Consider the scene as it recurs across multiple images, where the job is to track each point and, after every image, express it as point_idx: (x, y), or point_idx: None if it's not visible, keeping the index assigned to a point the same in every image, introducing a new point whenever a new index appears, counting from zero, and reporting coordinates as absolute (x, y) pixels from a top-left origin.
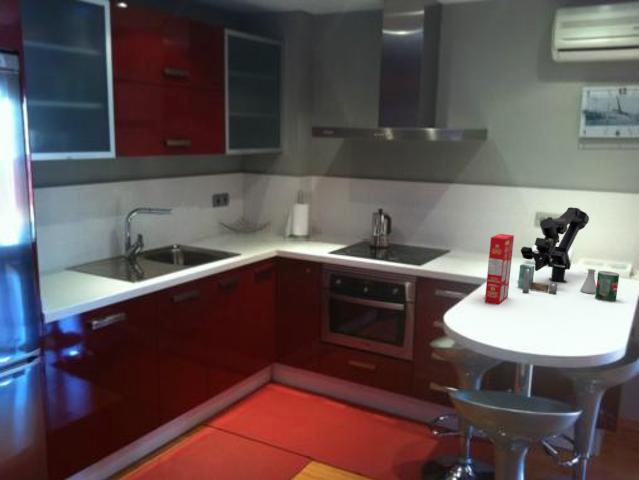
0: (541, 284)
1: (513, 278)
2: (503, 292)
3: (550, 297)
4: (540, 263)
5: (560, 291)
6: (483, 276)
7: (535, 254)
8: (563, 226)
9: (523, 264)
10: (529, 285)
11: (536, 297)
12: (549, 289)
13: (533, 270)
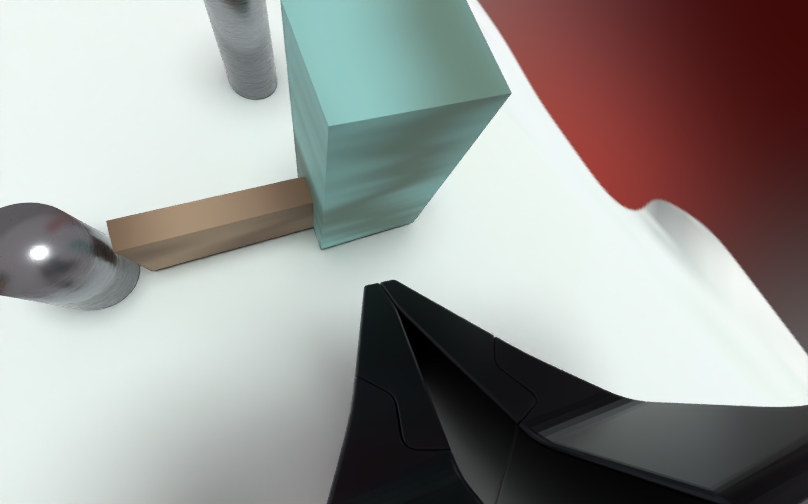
0: (192, 204)
1: None
2: None
3: (23, 114)
4: (371, 369)
5: (99, 470)
6: (732, 275)
7: (764, 425)
8: None
9: (491, 81)
10: (214, 33)
11: (110, 22)
12: (103, 234)
13: (316, 141)
